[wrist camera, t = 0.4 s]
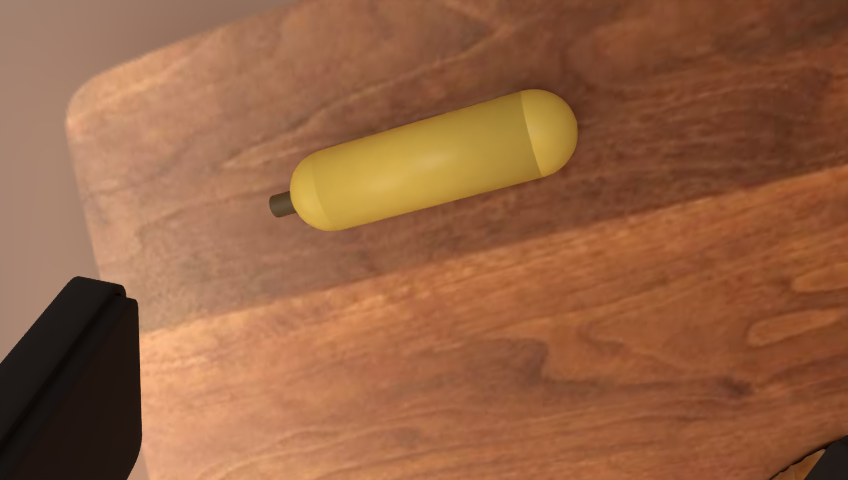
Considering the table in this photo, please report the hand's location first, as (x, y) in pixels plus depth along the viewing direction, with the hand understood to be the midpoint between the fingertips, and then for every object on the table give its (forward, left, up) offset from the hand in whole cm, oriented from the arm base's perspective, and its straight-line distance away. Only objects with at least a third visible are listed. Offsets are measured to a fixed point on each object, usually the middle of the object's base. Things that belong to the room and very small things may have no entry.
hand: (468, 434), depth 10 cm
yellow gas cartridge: (+7, -1, -22) cm, 23 cm away
